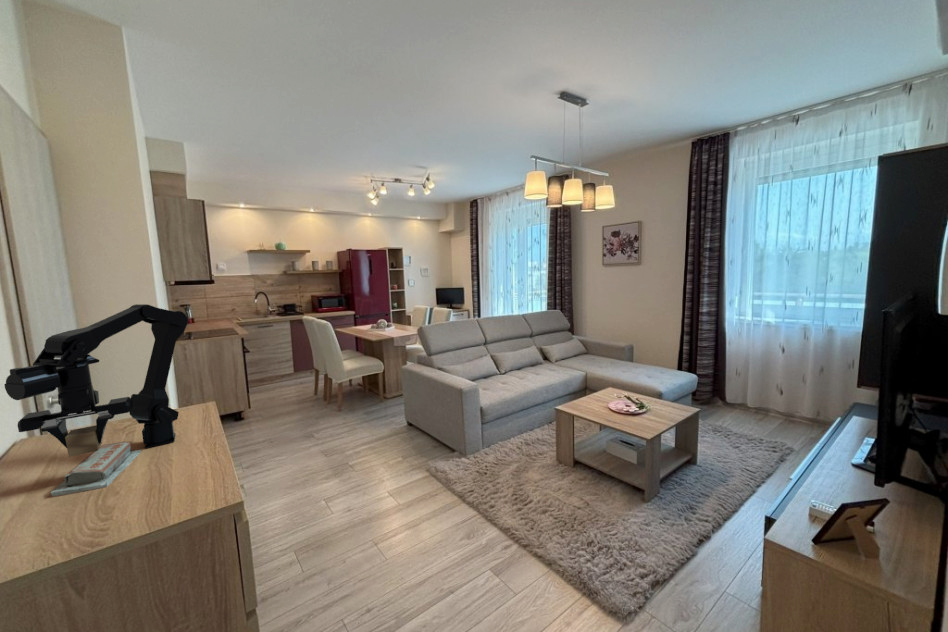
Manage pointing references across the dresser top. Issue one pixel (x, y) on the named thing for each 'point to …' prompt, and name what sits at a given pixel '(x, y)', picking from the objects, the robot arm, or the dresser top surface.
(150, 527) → the dresser top surface
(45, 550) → the dresser top surface
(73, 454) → the walnut block
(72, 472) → the packaged product
